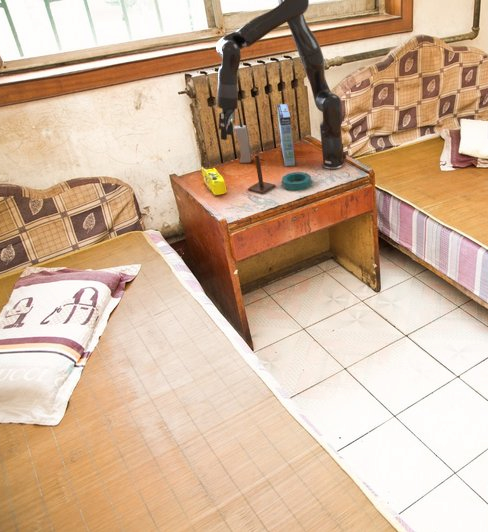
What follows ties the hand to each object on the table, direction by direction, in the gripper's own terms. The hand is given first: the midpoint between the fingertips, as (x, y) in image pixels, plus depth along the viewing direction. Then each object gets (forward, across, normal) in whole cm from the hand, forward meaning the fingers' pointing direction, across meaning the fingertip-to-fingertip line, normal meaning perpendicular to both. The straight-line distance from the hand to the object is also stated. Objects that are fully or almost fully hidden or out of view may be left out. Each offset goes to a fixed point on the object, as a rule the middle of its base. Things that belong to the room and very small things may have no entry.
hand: (226, 137), depth 215 cm
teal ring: (+18, +9, -28) cm, 35 cm away
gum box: (+16, +38, -20) cm, 46 cm away
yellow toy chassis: (+25, +6, +6) cm, 26 cm away
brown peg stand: (+21, +6, -14) cm, 26 cm away
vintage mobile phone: (+20, +36, 0) cm, 41 cm away
